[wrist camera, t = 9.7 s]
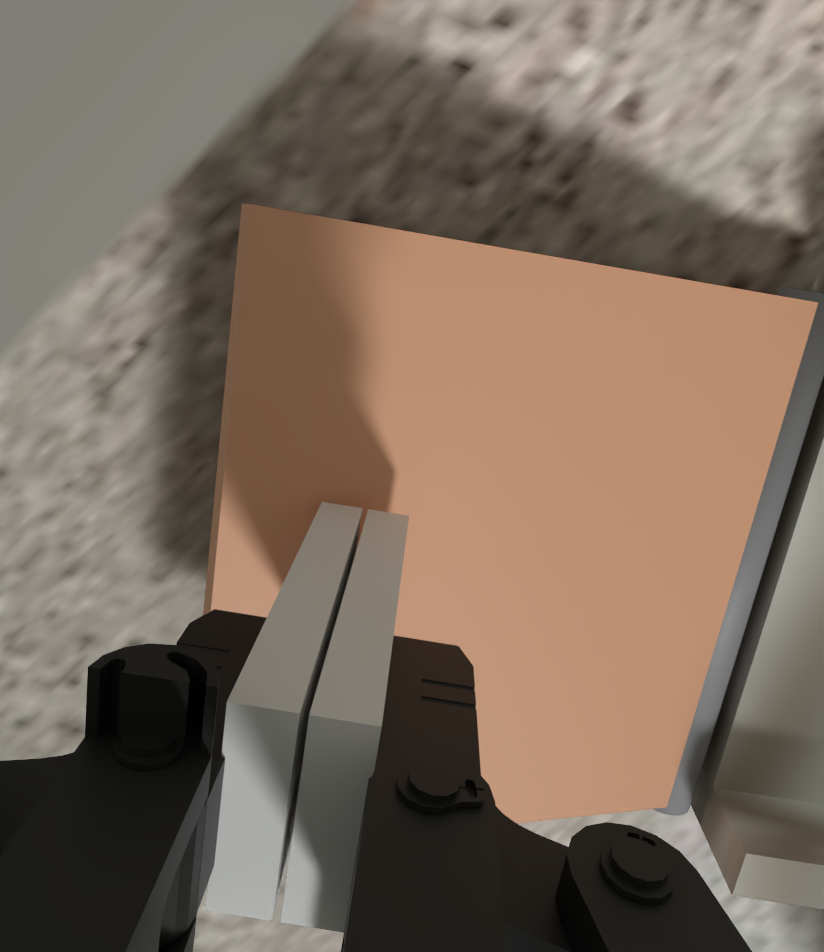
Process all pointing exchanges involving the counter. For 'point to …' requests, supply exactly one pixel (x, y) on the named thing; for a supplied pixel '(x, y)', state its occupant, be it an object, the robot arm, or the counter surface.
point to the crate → (776, 713)
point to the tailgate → (523, 479)
